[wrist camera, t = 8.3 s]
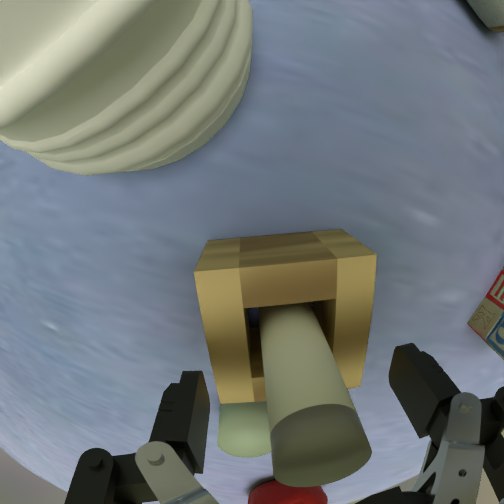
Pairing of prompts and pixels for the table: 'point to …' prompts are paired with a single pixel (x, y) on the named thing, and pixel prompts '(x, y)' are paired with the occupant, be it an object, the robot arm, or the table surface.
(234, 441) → the bead
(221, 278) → the bead block
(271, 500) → the pomegranate
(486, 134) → the table surface
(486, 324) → the stack of blocks
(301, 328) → the cream capped cylinder
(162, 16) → the honey pot
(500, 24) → the ceramic mug
